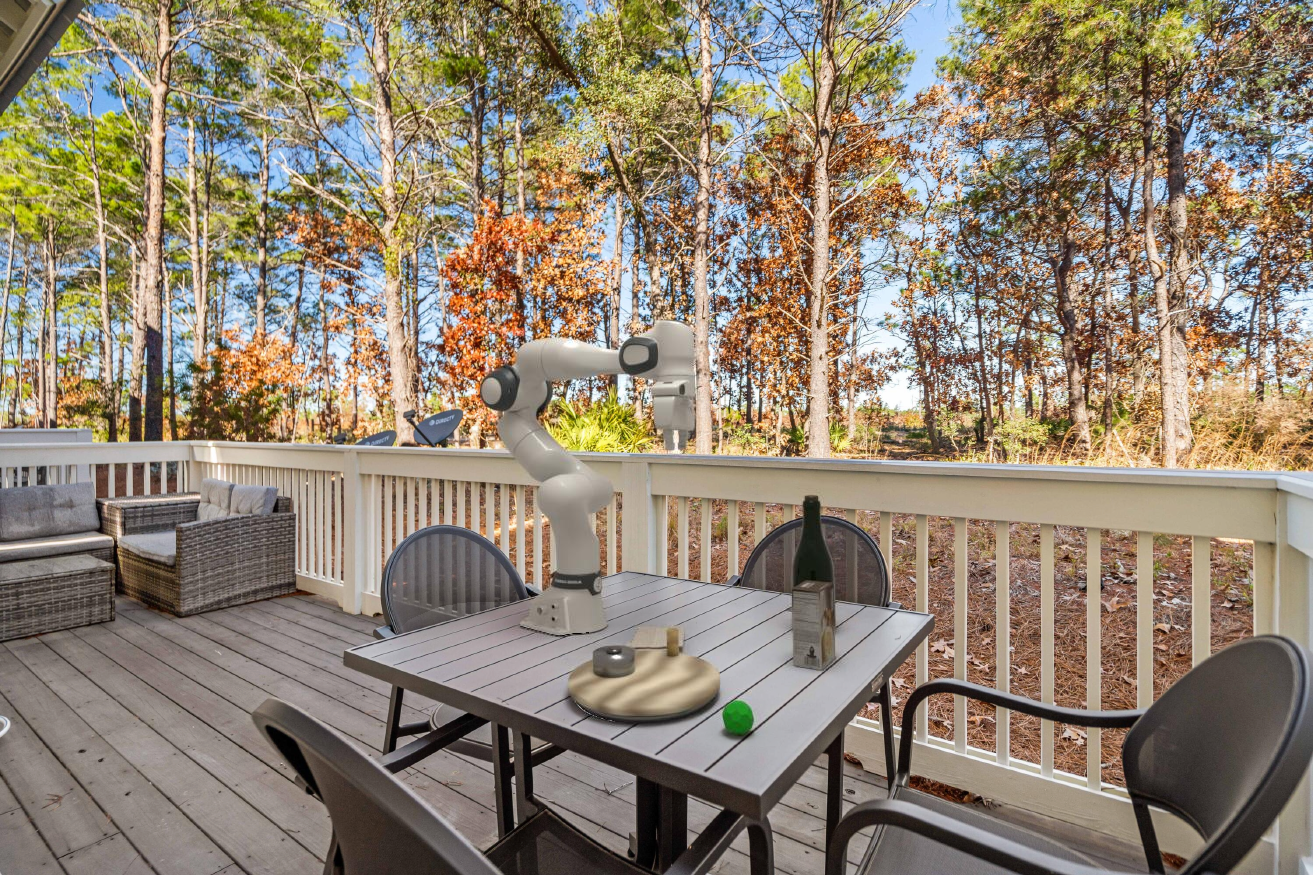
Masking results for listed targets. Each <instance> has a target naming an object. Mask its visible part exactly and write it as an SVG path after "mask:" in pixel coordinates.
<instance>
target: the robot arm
mask: <svg viewBox="0 0 1313 875" xmlns="http://www.w3.org/2000/svg"><path fill="white" fill-rule="evenodd" d="M695 357H696V356H695V338H694V332H693V329H692V327H691V325H690V324H688V323H687V322H685V321H681V320H677V319H670V318H669V319H667V318H664V319H660V320H659V321H658V322H657V323H656V324H655V326H654V327H652V328H650V329H649V330H647V331H645V332H643V333H641V334H639V335H636V336H631V337H629V338H628V339H626V340H625V341H624V342H623V343H622V345H621V346H620V348H619V349H611V348H605V347H601V346H598V345H594V344H592V343H588V342H585V341H582V340H577V339H574V338H567V337H546V338H539V339H535V340H531V341H528V342H525V343H523V344H521V345H520V347H519V348H518V350H517V351H516V355H515V361H514V363H513V365H510V364H507V363H505V364H502V365H501V366H500V367H498V369H495V370H493V371H490V372H489V373H487V375H485V376H484V377H483V379H482V380H481V383H480V385H479V397H480V399H481V402H482V403H483V405H485V407H486V408H488V409H490V410H493V411H497V412H503V415H502V416H501V417H500V419H499V420H498V423H497V426H496V430H497V434H498V437H499V438H500V440H501V441H502V443H503V445H504V446H505V448H506V449H507V450H508V452H509V453H510V454H511V456H513V458H514V459H515V460H516V462H518V464H520V466H521V467H522V468H523V470H525V472H526V473H527V474H528V475H529V476H530V477H531V478H532V479H534V480H535V481H538V482H540V485H539V487H538V489H537V493H536V503H537V506H538V510H540V512H541V513H542V514H543V515H544V516H545V517H546V518H547V520H548V522H549V524H550V527H551V529H552V533H553V537H554V541H555V542H554V543H555V561H556V562H555V564H556V565H555V566H556V570H555V571H553V572H552V573H549V574H547V576H548V577H547V580H550V579H552V580H551V582H550V585H549V586H548V587H547V588H545V589H544V590H543V591H542V592H541V593H540V594H539V595H537V596H535V598H534V599H532V601H531V603H530V606H529V613H528V616H527V617H525V618H524V619H522V620H521V621H520V622H519V626H520V625H522V626H526V627H529V628H533V629H537V630H541V631H544V632H549V633H552V634H556V635H565V634H570V635H572V634H571V633H582V634H587V633H586V632H589V633H594V632H597V631H600V630H603V629H605V628H606V627H607V626H608V622H607V618H606V614H605V611H604V605H603V604H604V603H603V600H602V589H603V573H602V569H601V556H600V555H601V554H600V553H601V552H600V550H601V549H600V539H599V536H598V535H597V534H596V533H595V532H594V530H593V529H592V526H591V522H590V519H589V518H590V517H589V516H590V515H592V514H597V513H598V512H600V511H602V510H603V509H605V508H607V507H608V506H609V505H610V504H611V503H612V501H613V498H614V492H615V490H614V485H613V483H612V481H611V480H610V478H609V477H607V475H603V474H601V473H599V472H598V471H596V470H594V469H593V468H591V467H590V466H588V465H587V464H585V463H584V462H582V461H581V460H580V459H578V457H575V456H574V455H572V454H571V453H570V452H569V451H568V450H566V449H565V448H564V447H563V446H562V445H561V444H560V443H559V442H558V441H557V440H556V439H555V437H553V436H552V435H551V433H549V432H548V431H547V430H546V428H544V426H543V425H542V424H541V423H540V422H539V421H538V419H537V418H539V417H541V416H542V415H543V414H544V413H545V411H546V408H547V407H548V406H549V405H550V403H551V400H552V398H553V396H554V394H553V393H554V387H553V383H552V382H562V381H563V382H564V381H565V382H566V381H572V380H579V379H583V378H584V379H585V378H591V377H598V376H606V375H629V376H631V377H634V378H639V379H645V380H652V381H655V383H654V384H653V385H652V386H651V388H650V394H651V396H652V397H653V399H652V410H653V422H654V427H655V428H656V430H661V431H662V436H663V441H664V442H665V443H664V448H665V451H668V452H669V451H670V452H671V451H675V447H676V446H675V445H676V443H675V442H674V440H675V439H674V434H675V431H678V433H677V435H678V442H677V449H678V450H679V451H685V450H687V448H688V446H687V445H688V444H687V443H688V438H689V431H694V430H695V426H696V422H695V421H696V418H695V415H696V414H695V405H694V401H693V400H692V398H696V374H695V372H694V363H695ZM565 636H566V635H565Z"/></svg>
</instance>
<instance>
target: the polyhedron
mask: <svg viewBox="0 0 1313 875" xmlns="http://www.w3.org/2000/svg"><path fill="white" fill-rule="evenodd" d="M721 714H722V715H721V716H722V721H723V725H724V728H725V729H726V730H727V731H728V732H729V733H731V734H733V735H738V736H742V735H744V734H746V733H747V732H748V731H750V730H751V729H752V728H753V725H754V723H755V718H754V714H753V711H752V707H750V705H748V703H746V702H745V701H743V700H733V701H732V702H730V703H729V704H727V705H726V706H724V707H723V710H722V713H721Z"/></svg>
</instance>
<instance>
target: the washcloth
mask: <svg viewBox="0 0 1313 875" xmlns="http://www.w3.org/2000/svg"><path fill="white" fill-rule="evenodd" d="M670 628H675V629H678V642H679V653H682V654H684V645H685V644H684V643H685V626H684V625H667V626H647V625H645V626H638V627H636V630H635V633H634V635H633V639H632V641H631V644H632V646H633V649H634V650H635V651H667V629H670Z"/></svg>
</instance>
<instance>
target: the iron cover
mask: <svg viewBox="0 0 1313 875" xmlns="http://www.w3.org/2000/svg"><path fill="white" fill-rule="evenodd" d="M592 659H593V673H594V674H595V675H597V676H599V677H603V678H620V677H625V676H628V675H631V674H632V673H634V672H635V650H634V649H633V648H631V647H628V646H623V645H620V644H615V645H614V644H613V645H612V644H611V645H604V646H600V647H598V648H595V649H594V650H593V651H592Z"/></svg>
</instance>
